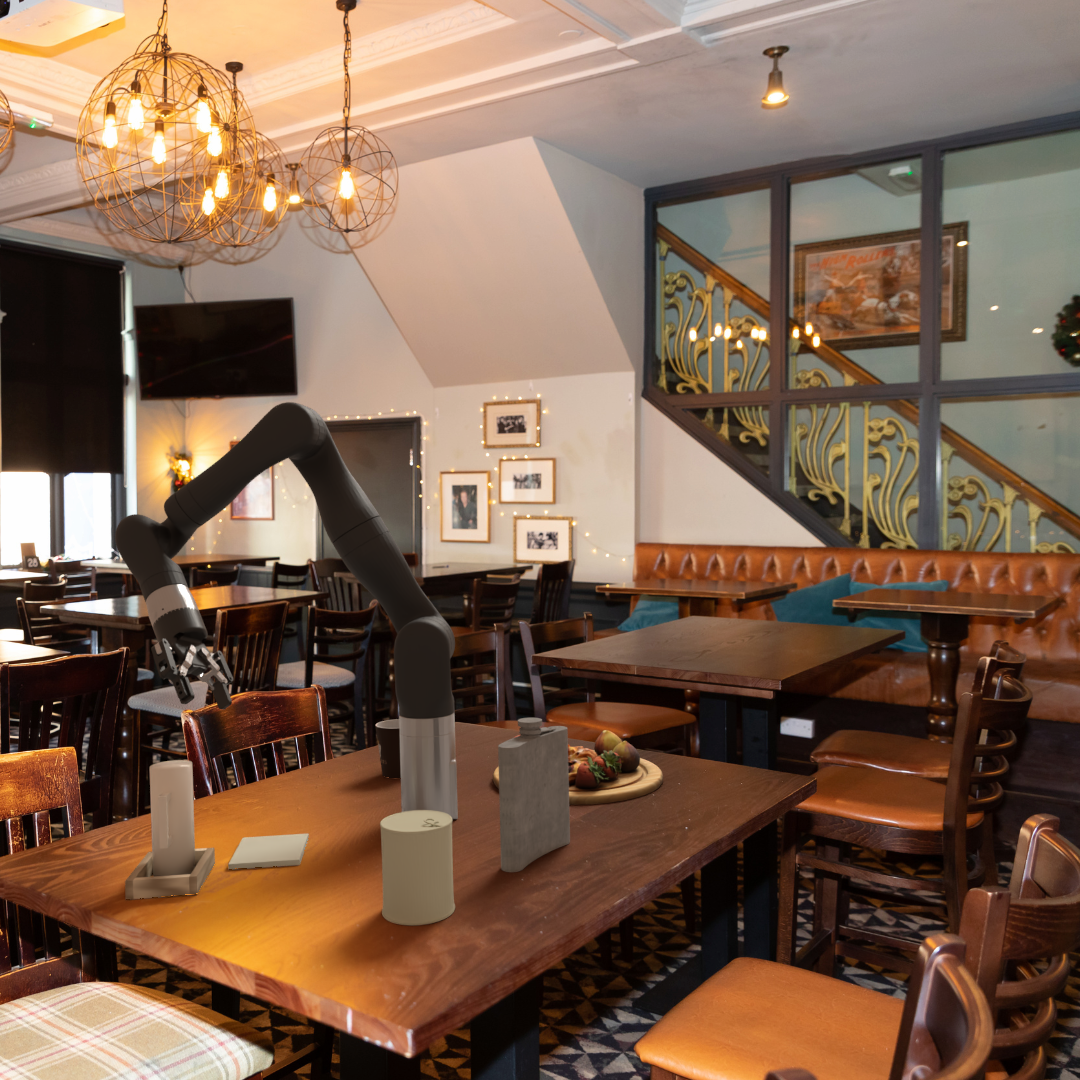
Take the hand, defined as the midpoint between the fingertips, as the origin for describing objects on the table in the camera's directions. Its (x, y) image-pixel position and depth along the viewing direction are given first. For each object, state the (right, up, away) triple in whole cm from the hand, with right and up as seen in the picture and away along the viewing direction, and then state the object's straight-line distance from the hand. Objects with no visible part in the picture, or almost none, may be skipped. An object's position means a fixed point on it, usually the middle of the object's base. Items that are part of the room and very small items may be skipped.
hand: (207, 704), depth 152 cm
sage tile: (+11, -22, -5) cm, 25 cm away
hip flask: (+51, -21, -8) cm, 56 cm away
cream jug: (0, -22, -16) cm, 27 cm away
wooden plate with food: (+59, -20, +32) cm, 70 cm away
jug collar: (0, -22, -16) cm, 27 cm away
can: (+36, -22, -28) cm, 51 cm away
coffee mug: (+24, -21, +41) cm, 52 cm away
